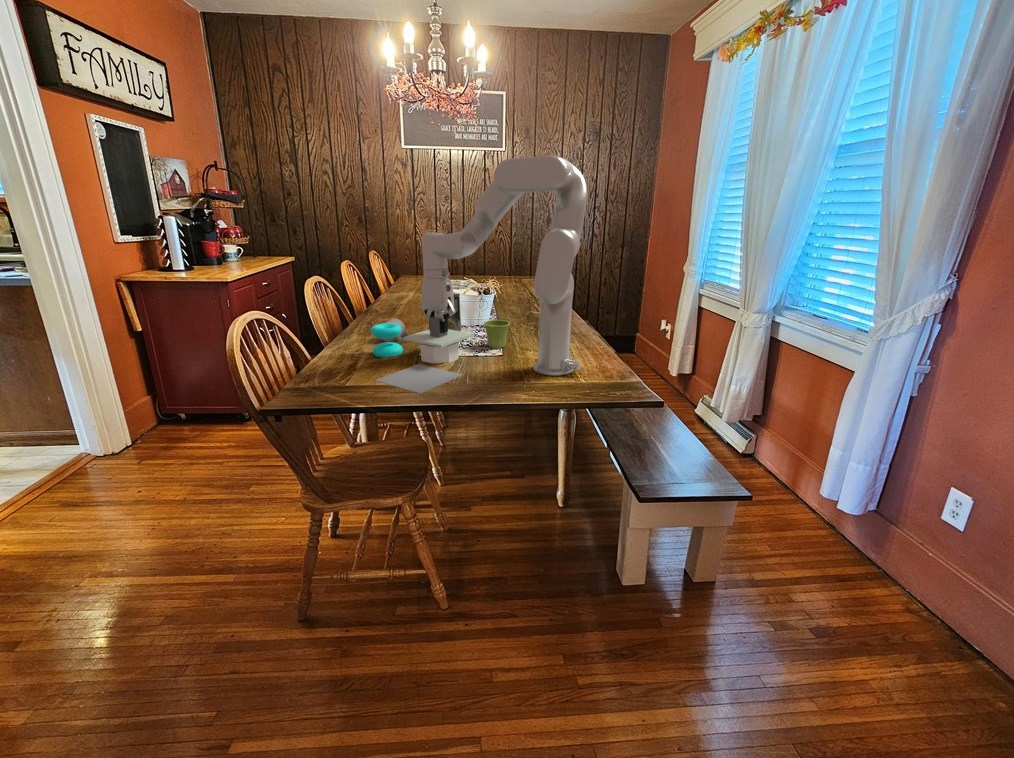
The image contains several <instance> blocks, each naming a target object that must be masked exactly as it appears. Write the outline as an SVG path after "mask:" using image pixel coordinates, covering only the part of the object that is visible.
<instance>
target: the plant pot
mask: <svg viewBox="0 0 1014 758" xmlns="http://www.w3.org/2000/svg"><path fill="white" fill-rule="evenodd" d="M482 323H483V325H484V329H485V333H486V340H487V346H488V347H489V348H491V349H500V348H505V347H506V343H507V337H508V329H509V326H510V324H511V323H510V321H508V320H505V319H504V320H503V319H491V320H487V321H484V322H482Z"/></svg>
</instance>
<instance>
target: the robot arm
mask: <svg viewBox="0 0 1014 758" xmlns="http://www.w3.org/2000/svg"><path fill="white" fill-rule="evenodd" d="M535 192H536V193H537V192H555V194H556V201H555V202H556V203H555V206H554V211H553V218H552V224H551V228H550V230H549V231H548V232H547V233H546V234H544V235H545V236H544V237H543V239H542V241H541V242H540V243H541V244H540V246H539V247H540V248H539V252H538V258H537V264H536V270H535V276H534V283H533V284H534V285H533V290H534V293H535V297H537V299H538V300H539V302H540V303H539V315H538V316H539V317H538V344H537V345H538V346H537V347H538V351H537V352H538V354H537V361H536V362H534V363H533V364H532V370H533V371H534V372H536V373H538V374H540V375H546V376H565V375H569V374H571V373H572V372H573V371H574V370H575V371H579V370H580V369H581V365H580V361H576V360H575V361H574V360H573V355H571V354H570V347H571V345H570V343H571V328H572V327H571V324H572V323H571V322H572V310H573V298H574V297H573V296H574V290H575V280H574V276H573V273H572V270H573V266H574V261H575V257H576V256H577V254H578V253H579V250H580V244H581V239H582V238H581V237H582V232H583V227H584V220H585V214H586V210H587V209H586V208H587V202H588V185H587V183H586V181H585V178H584V176H583V174H582V172H581V171H580V170H579V169H578V168H577V167H576V166H575V165H574V164H572V163H571V162H570V161H568V160H567V159H565V158H564V157H561V156H559V155H554V154H553V155H550V154H548V155H538V156H527V157H517V158H516V157H515V158H506V159H504V160H502V161H501V162H499V163H498V165H497V166H496V167H495V170H494V172H493V181H492V182H491V183H490V184H489V185H488V187H486V188H485V190H484V191H483V192H482V193H481V195H480V196H479V197H478V198H477V200H476V205H475V207H476V208H475V212H474V213H473V216H472V218H471V219H470V220H469V221H468V222H467V224H466V225H465V226H464V227H463V228H462V230H460V231H458V232H452V233H450V232H449V233H443V232H425V233H423V234H422V236H421V249H422V250H421V251H422V268H423V270H422V271H423V278H422V283H421V305H420V309H421V310H422V312H424V314H425V315H426V319H428V320H429V318H430V317H433V316H436V315H437V313H436V311H440V317H441V321H440V333H445V332H448V320H449V318H450V317H451V316H452V315H453V314H454V313H456V311H455V309H454V295H453V294H454V288H453V284H452V281H451V278H449V276H450V275H451V272H450V271H449V267H448V266H449V264H448V262H449V260H448V259H450V260H459V259H462V258H465V257H468V256H471V255H473V254H474V253H475V252H476V251H477V250H478V249H479V248H480V246H482V245H483V243H484V242H485V241H486V240H487V239H488V237H489V236H490V235H491V234H492V232H493V231H494V229H495V228H496V227H497V225H498V224H499V222H500V221H501V219H502V218H503V217H504V216H505V215H506V214H507V212H509V210H510V209H512V207H513V206H514V205H515V204H516V203H517V202H518V200H520V198H521V197H522V196H523V195H524V193H535ZM448 310H449V312H448ZM444 313H445V315H444ZM428 328H429V329H428V330H429V331H430V324H429V323H428Z"/></svg>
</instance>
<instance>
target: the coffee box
mask: <svg viewBox="0 0 1014 758" xmlns="http://www.w3.org/2000/svg"><path fill="white" fill-rule="evenodd" d="M453 295H454V309H455V311H456V313H454V314H453V315H452V316H451V317H450V318H449V320H448V329H450V330H456V331H461V332H462V317H461V316H462V315H461V294H460V293H453ZM448 312H449V310H448ZM437 315H438V316H440V311H436V316H437ZM444 315H445V313H444Z"/></svg>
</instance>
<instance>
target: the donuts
mask: <svg viewBox="0 0 1014 758" xmlns="http://www.w3.org/2000/svg"><path fill="white" fill-rule="evenodd" d="M370 333H371V335H372V336H373V337H375V338H378V339H381V338H393V337H396V336H398V335H399V334H400V333H401V327H400V326H399V325H397V324H392V323H386V322H383V323H379V324H374V325H373V326H371V328H370ZM403 351H404V349H403V346H402V345H401V344H399V343H397V342H385V341H384V342H381V343H378V344H376V345H375V346H374V347H373V348H372V354H373V356H374V357H377V358H383V359H384V358H390V357H391V358H392V357H396V356H399V355H401V354H403Z"/></svg>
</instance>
